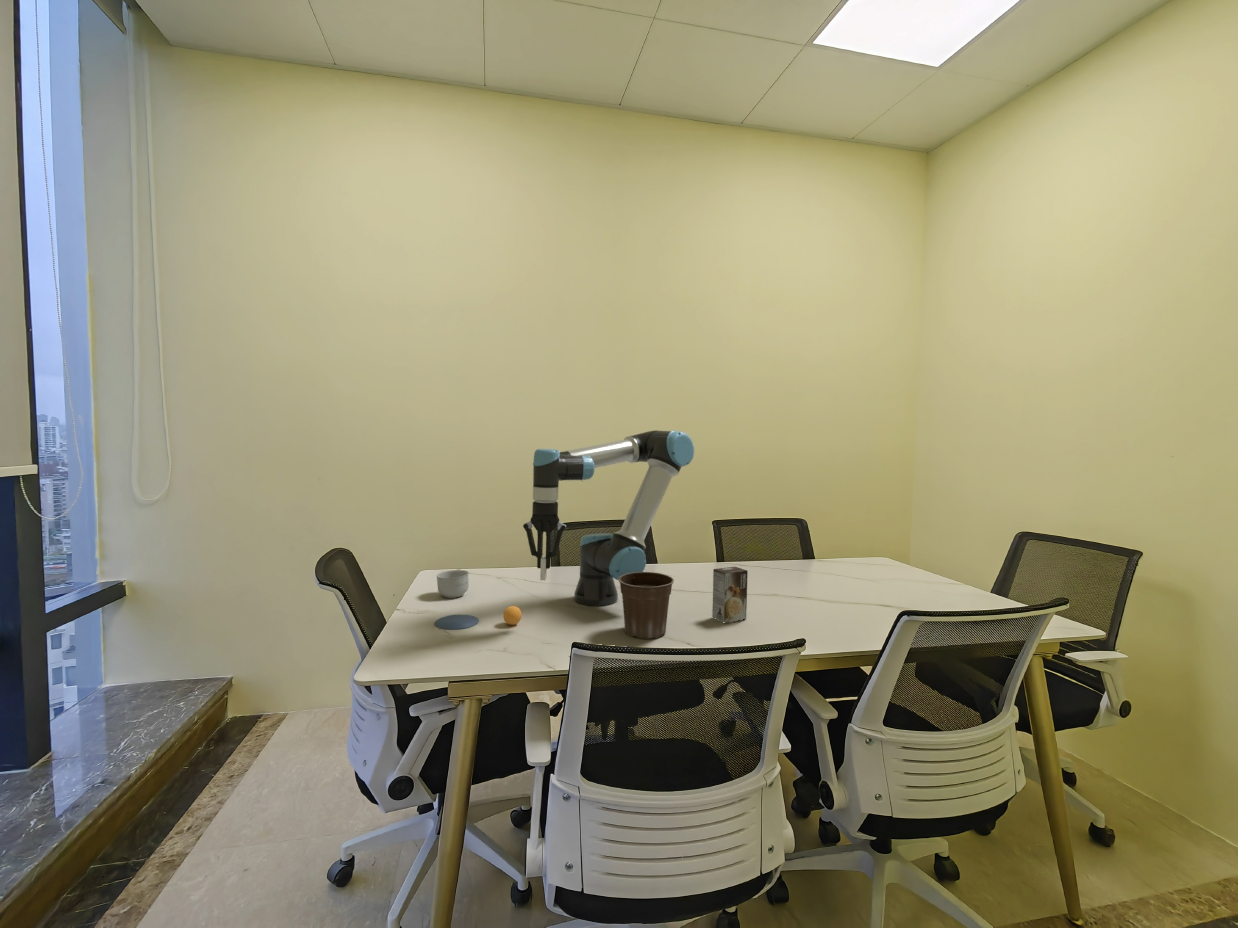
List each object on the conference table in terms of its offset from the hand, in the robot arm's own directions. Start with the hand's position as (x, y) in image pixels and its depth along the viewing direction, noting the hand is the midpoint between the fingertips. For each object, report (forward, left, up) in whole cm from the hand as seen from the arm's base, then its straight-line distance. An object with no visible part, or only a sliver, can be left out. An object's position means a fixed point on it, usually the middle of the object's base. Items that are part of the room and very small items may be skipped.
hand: (543, 578), depth 173 cm
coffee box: (-58, -13, -15) cm, 61 cm away
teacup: (+36, -28, -15) cm, 48 cm away
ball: (+9, 0, -12) cm, 15 cm away
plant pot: (-31, +2, -15) cm, 34 cm away
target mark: (+26, 0, -14) cm, 30 cm away
